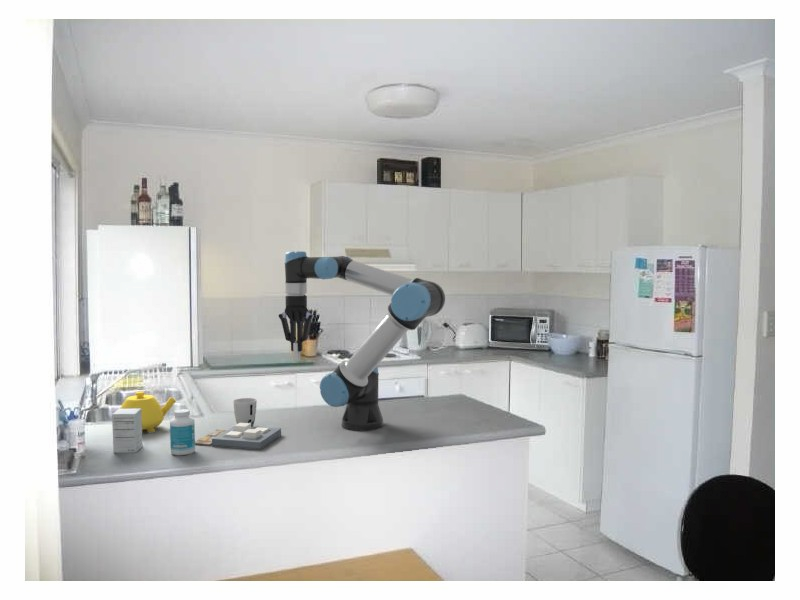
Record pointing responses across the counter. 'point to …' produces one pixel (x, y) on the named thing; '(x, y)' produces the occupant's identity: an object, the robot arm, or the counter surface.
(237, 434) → the button
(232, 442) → the button board
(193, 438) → the pill bottle
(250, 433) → the button
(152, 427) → the teapot
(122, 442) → the supplement box
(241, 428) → the button
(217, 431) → the card
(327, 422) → the counter surface
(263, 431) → the button
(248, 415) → the cup
